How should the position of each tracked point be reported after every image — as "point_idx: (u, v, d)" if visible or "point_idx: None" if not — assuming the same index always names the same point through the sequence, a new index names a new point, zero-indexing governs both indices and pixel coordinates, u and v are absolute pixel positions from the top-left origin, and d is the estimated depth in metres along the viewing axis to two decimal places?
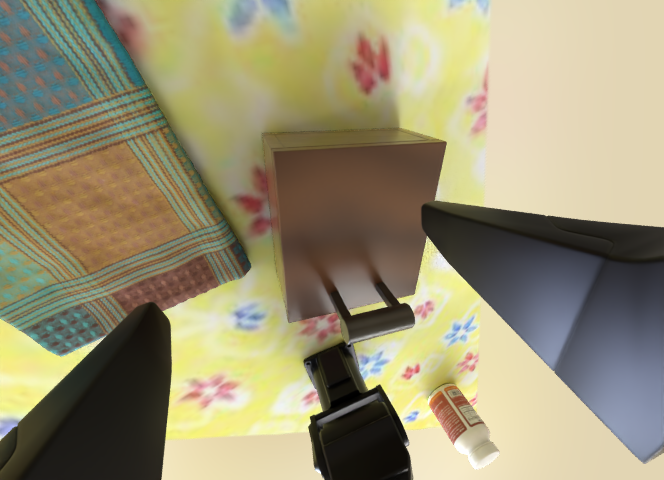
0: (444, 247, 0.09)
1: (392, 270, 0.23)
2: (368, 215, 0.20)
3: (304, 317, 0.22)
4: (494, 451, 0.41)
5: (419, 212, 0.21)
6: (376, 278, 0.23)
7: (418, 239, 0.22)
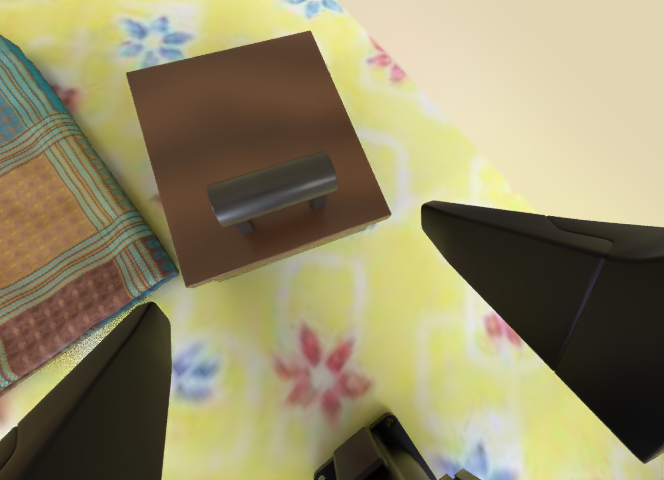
0: (444, 247, 0.09)
1: None
2: (252, 111, 0.16)
3: (209, 273, 0.14)
4: None
5: (321, 97, 0.17)
6: None
7: (341, 129, 0.17)
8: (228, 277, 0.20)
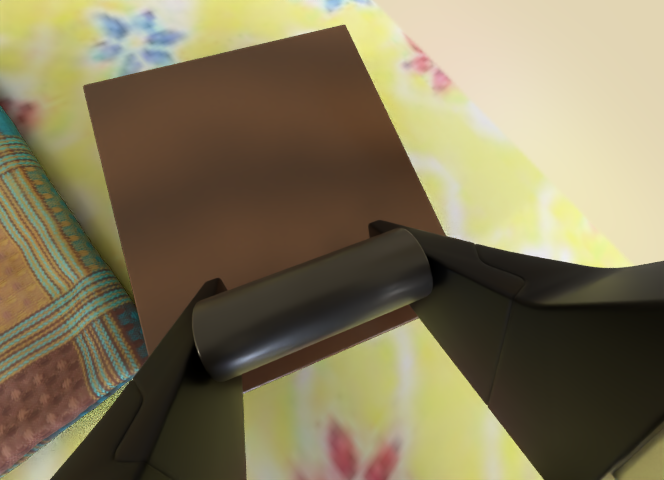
0: None
1: None
2: (266, 140, 0.11)
3: None
4: None
5: (363, 119, 0.12)
6: None
7: (394, 165, 0.12)
8: None
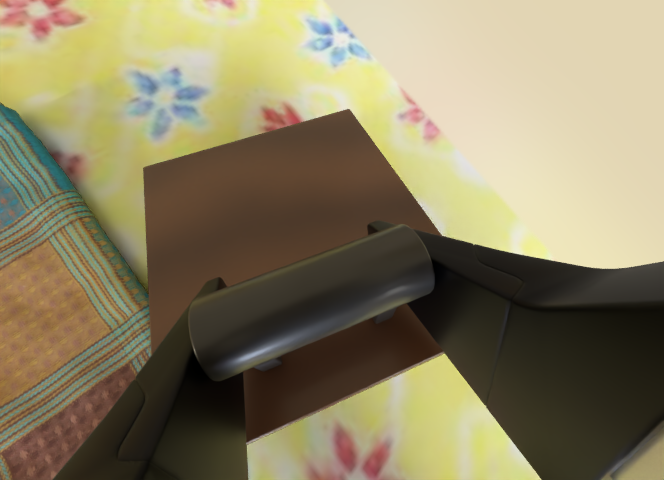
0: None
1: None
2: (283, 193, 0.13)
3: None
4: None
5: (368, 171, 0.13)
6: None
7: (400, 204, 0.12)
8: None
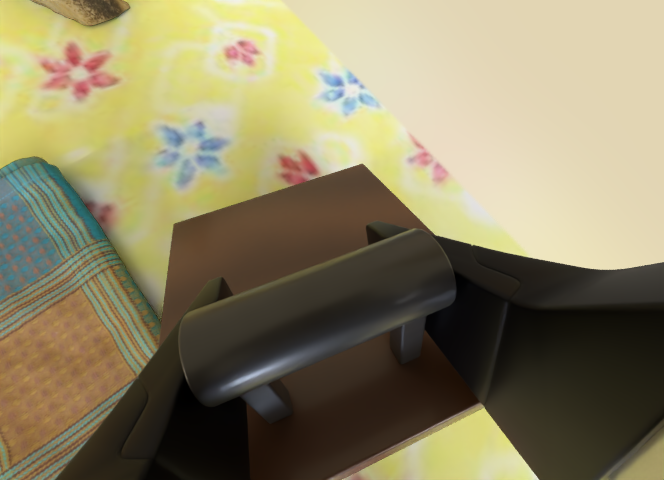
0: None
1: None
2: (300, 237, 0.13)
3: None
4: None
5: (383, 212, 0.13)
6: (383, 333, 0.09)
7: None
8: None
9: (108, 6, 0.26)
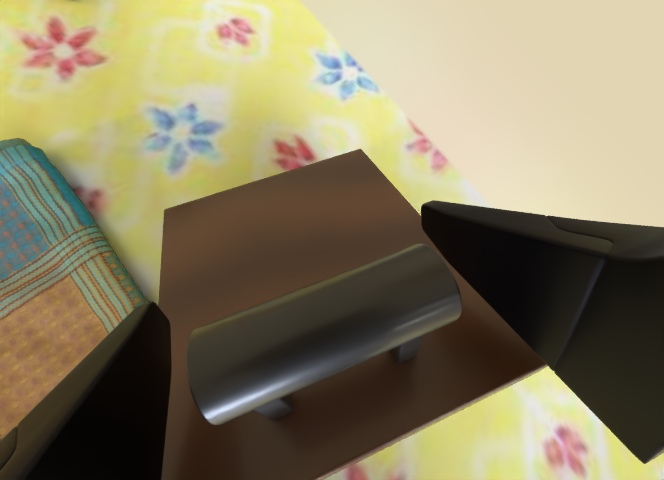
0: (444, 247, 0.09)
1: None
2: (297, 228, 0.13)
3: None
4: None
5: (382, 203, 0.13)
6: None
7: (417, 234, 0.12)
8: None
9: None
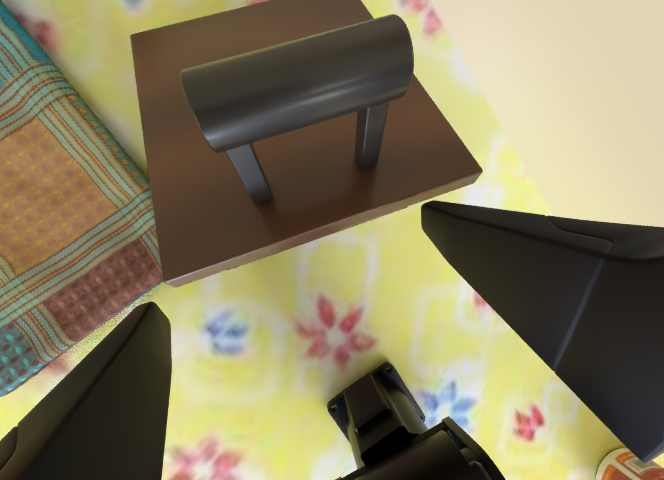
0: (444, 247, 0.09)
1: None
2: None
3: (201, 260, 0.09)
4: None
5: None
6: (350, 147, 0.11)
7: None
8: None
9: None
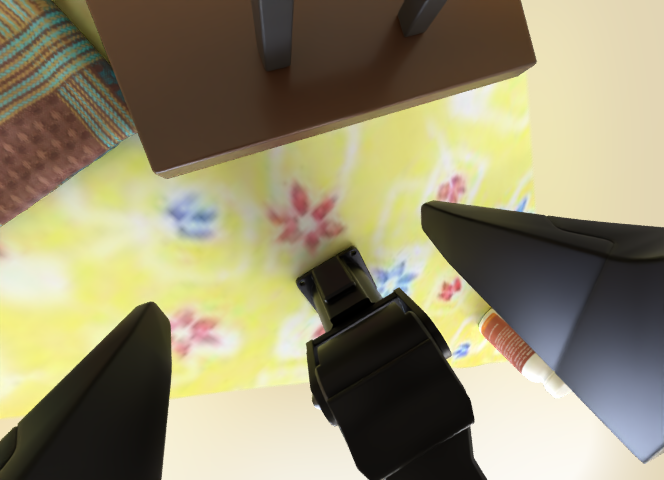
0: (444, 247, 0.09)
1: None
2: None
3: (202, 147, 0.07)
4: None
5: None
6: None
7: None
8: None
9: None
